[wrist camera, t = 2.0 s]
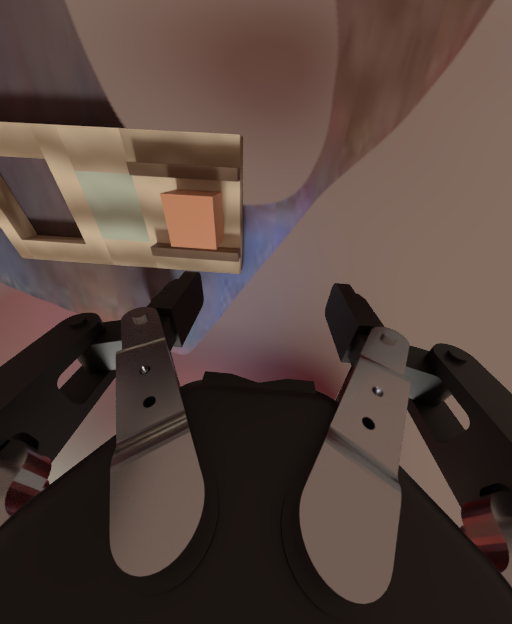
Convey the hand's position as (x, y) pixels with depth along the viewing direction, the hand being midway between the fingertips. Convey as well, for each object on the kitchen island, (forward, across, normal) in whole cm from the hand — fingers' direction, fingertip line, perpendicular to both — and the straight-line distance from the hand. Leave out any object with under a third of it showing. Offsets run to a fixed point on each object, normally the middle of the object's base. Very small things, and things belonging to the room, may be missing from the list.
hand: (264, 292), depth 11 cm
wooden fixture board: (+20, +21, 0) cm, 29 cm away
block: (+18, +9, 0) cm, 20 cm away
